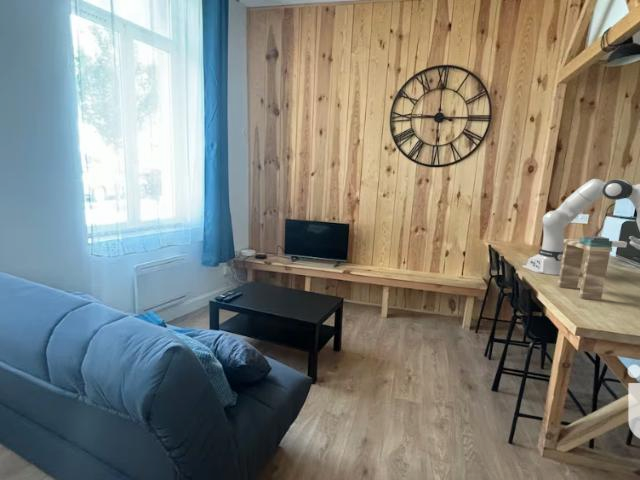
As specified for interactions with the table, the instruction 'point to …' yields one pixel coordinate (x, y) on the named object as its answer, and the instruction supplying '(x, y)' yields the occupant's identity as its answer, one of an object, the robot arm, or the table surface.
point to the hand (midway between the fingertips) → (638, 238)
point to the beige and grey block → (614, 243)
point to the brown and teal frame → (592, 269)
